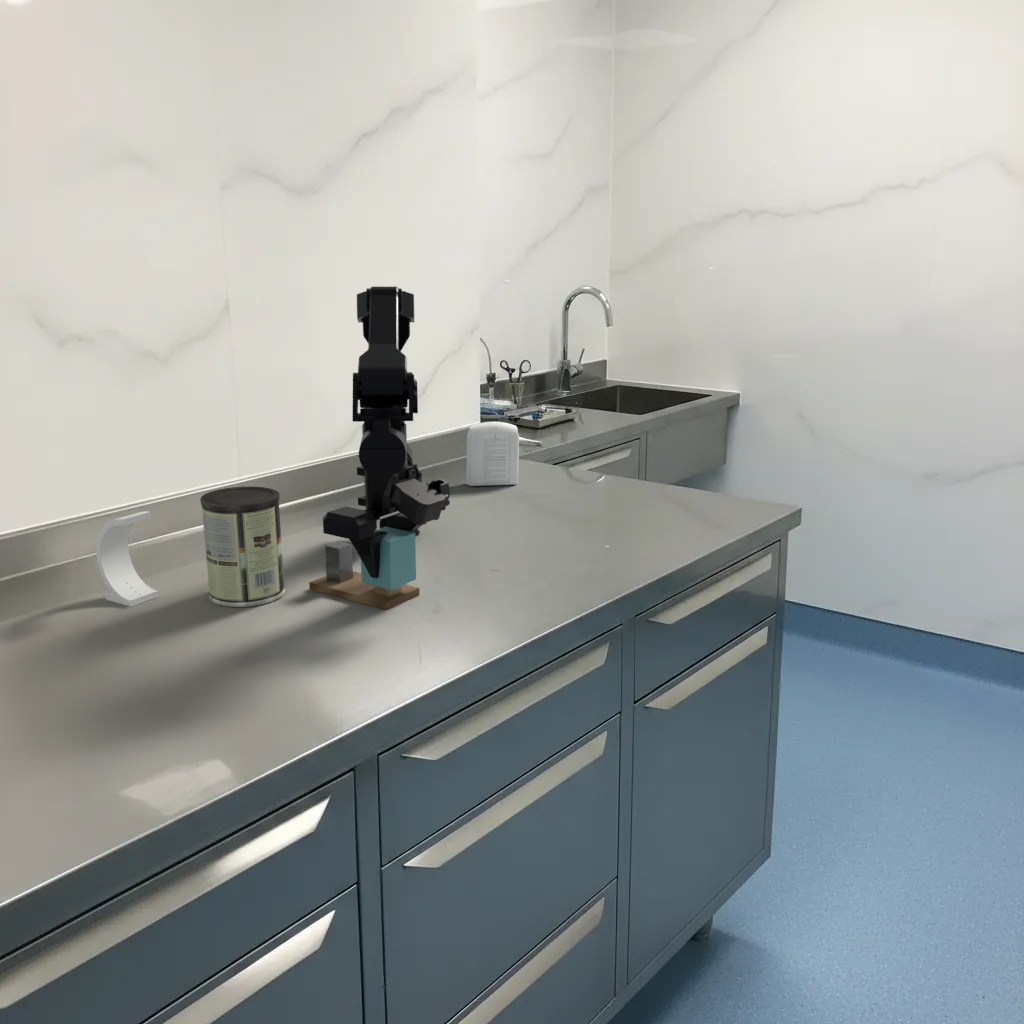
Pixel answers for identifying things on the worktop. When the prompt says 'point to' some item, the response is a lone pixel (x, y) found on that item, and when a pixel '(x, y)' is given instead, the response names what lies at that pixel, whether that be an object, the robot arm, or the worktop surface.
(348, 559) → the dark metal post
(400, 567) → the turquoise upright block
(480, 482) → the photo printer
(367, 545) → the robot arm
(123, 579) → the headphone stand
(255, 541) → the coffee can
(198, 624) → the worktop surface
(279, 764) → the worktop surface
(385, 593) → the maple post
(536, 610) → the worktop surface
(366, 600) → the walnut strip
